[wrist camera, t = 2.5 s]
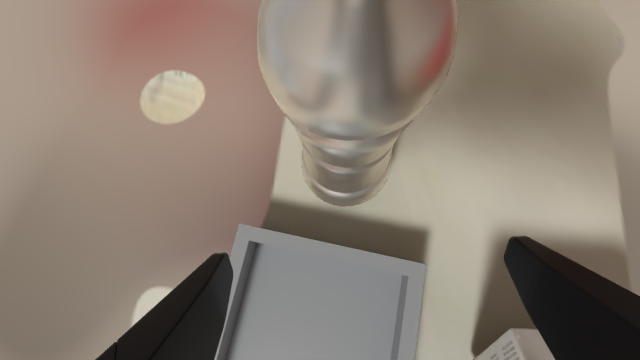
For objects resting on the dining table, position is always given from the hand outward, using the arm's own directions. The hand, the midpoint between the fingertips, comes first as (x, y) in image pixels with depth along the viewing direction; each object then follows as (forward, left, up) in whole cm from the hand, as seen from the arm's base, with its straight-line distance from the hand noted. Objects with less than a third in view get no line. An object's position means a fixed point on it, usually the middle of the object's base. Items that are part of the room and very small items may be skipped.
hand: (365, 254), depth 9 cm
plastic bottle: (+6, +2, -13) cm, 15 cm away
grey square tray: (-7, +2, -13) cm, 15 cm away
